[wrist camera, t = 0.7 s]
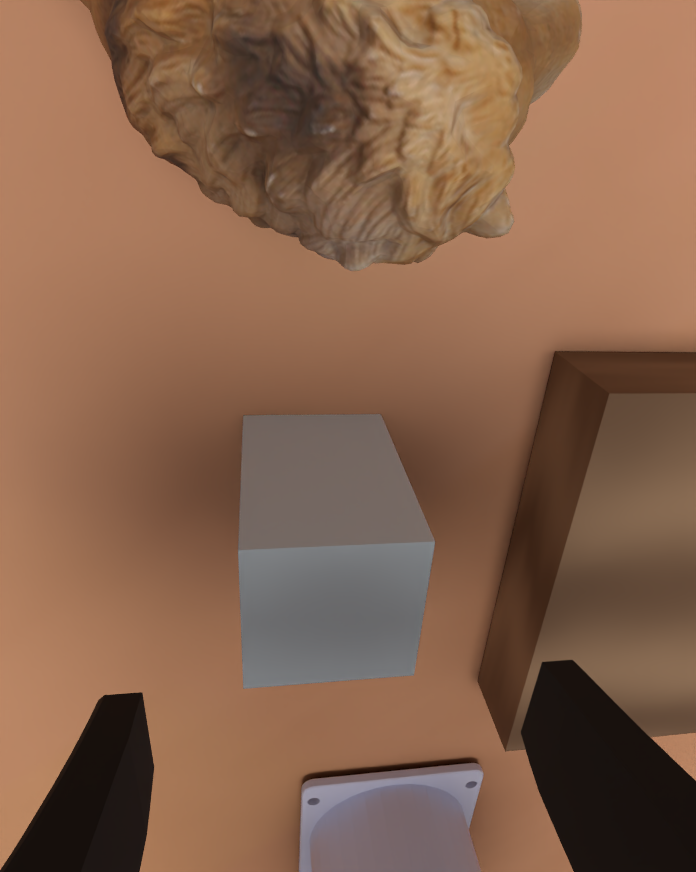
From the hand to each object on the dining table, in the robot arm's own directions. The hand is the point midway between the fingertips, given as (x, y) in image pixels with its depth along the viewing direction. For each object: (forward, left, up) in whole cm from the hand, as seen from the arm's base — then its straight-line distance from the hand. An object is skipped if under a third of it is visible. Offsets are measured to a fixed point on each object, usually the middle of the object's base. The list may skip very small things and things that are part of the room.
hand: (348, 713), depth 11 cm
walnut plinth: (-3, -15, -8) cm, 17 cm away
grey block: (0, 0, -8) cm, 8 cm away
